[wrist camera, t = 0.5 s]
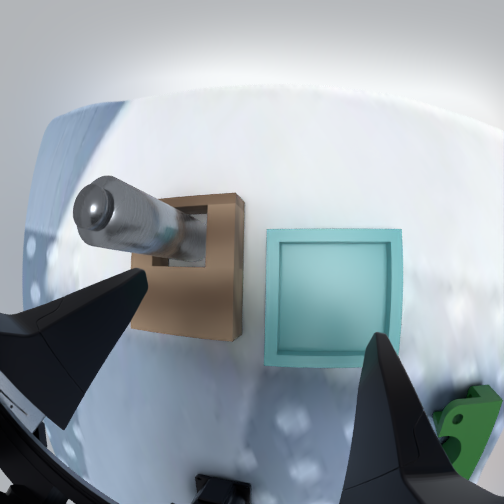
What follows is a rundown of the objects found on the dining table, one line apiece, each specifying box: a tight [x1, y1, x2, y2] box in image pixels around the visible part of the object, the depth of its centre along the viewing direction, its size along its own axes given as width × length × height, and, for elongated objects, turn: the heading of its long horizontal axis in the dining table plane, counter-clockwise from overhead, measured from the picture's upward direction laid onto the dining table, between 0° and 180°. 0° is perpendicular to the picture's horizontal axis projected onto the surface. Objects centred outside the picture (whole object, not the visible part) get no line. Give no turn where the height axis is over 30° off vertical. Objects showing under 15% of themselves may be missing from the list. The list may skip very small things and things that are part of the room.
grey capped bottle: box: [73, 176, 207, 262], centre depth 19 cm, size 4×4×14 cm
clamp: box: [432, 385, 503, 480], centre depth 16 cm, size 12×6×9 cm, turn 171°
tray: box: [264, 229, 403, 368], centre depth 21 cm, size 11×11×2 cm
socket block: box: [131, 193, 245, 342], centre depth 24 cm, size 12×10×3 cm
